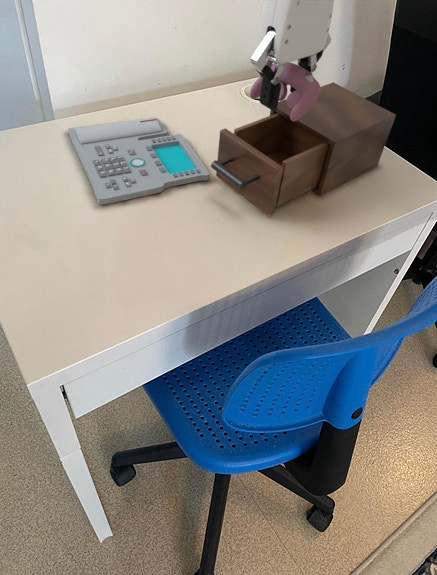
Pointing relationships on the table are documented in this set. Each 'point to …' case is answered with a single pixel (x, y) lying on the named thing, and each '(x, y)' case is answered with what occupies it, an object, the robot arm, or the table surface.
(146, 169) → the office telephone
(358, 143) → the cabinet
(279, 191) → the drawer
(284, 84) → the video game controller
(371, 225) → the table surface
